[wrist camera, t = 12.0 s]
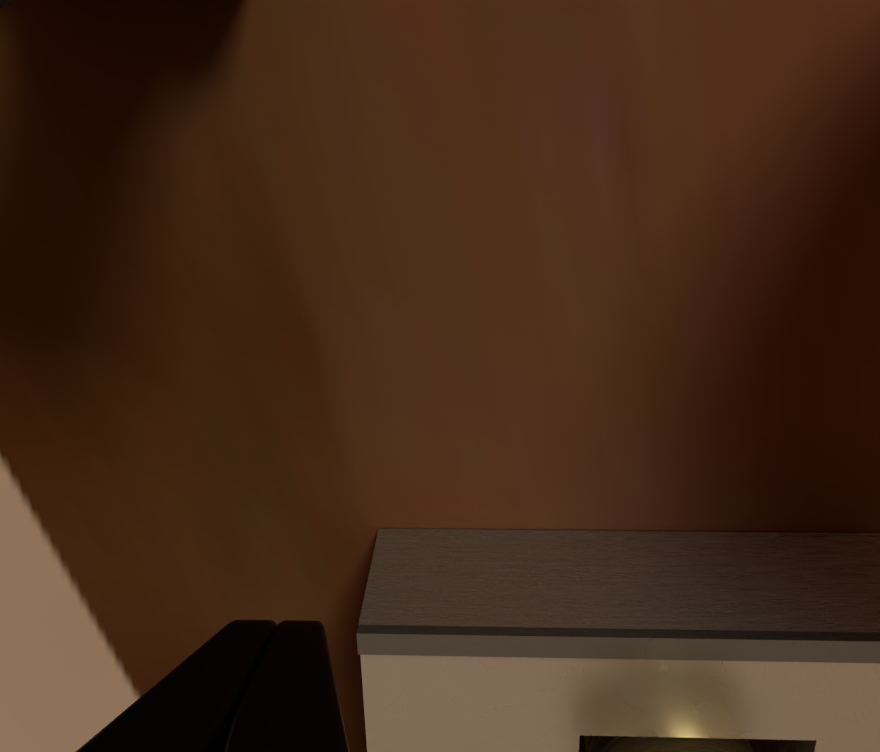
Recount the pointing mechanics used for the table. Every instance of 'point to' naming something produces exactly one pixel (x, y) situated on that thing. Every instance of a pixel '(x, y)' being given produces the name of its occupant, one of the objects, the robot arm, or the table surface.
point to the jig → (620, 639)
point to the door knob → (664, 744)
